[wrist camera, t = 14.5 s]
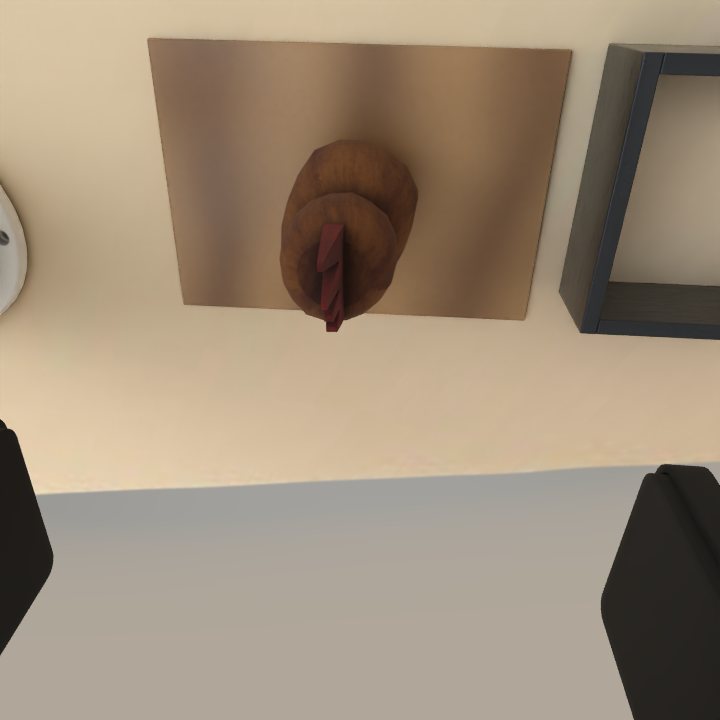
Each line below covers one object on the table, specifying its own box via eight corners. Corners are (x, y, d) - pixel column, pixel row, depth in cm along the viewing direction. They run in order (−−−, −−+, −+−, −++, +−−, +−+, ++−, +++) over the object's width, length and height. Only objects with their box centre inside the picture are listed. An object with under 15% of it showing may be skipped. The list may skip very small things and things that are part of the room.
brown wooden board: (185, 301, 37) (183, 304, 36) (149, 38, 30) (146, 38, 29) (523, 317, 36) (524, 320, 36) (570, 49, 29) (572, 50, 28)
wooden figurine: (324, 107, 30) (265, 189, 17) (431, 152, 31) (451, 262, 18) (283, 230, 34) (208, 375, 21) (381, 268, 34) (367, 430, 22)
